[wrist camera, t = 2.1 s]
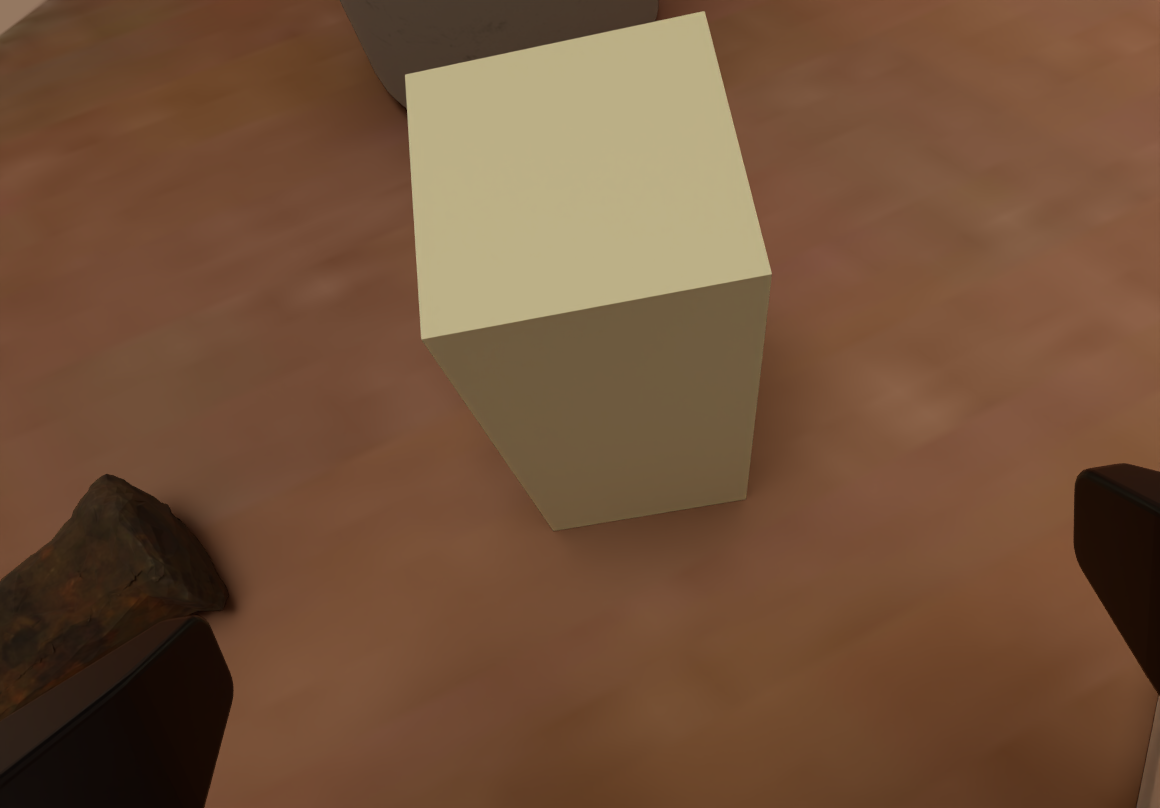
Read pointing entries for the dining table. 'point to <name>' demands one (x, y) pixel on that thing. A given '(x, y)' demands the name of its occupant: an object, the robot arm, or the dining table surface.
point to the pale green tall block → (594, 267)
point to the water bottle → (476, 29)
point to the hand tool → (98, 589)
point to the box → (1152, 768)
